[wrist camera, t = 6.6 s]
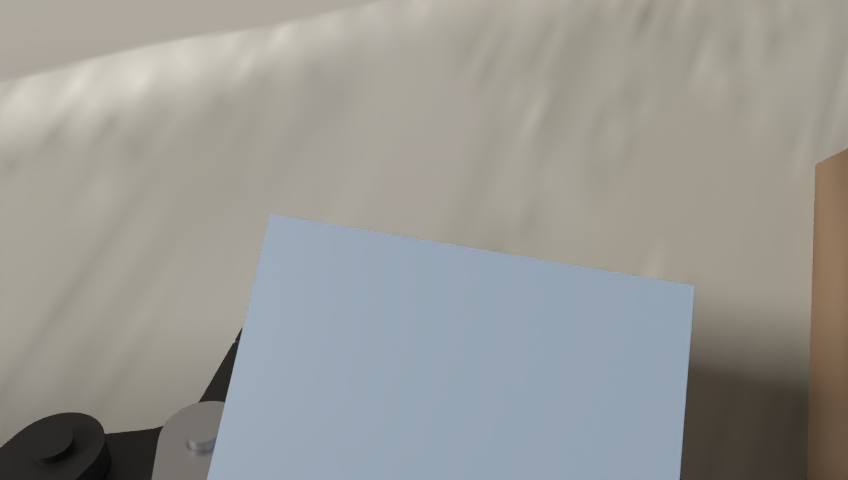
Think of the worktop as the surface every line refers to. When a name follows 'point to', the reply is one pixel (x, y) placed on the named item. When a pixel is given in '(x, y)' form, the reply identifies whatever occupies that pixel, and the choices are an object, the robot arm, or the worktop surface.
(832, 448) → the walnut base block
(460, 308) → the slate blue block
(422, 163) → the worktop surface
